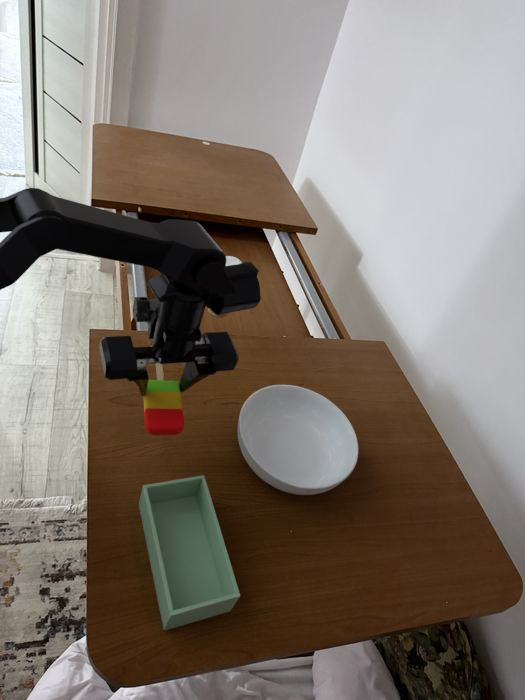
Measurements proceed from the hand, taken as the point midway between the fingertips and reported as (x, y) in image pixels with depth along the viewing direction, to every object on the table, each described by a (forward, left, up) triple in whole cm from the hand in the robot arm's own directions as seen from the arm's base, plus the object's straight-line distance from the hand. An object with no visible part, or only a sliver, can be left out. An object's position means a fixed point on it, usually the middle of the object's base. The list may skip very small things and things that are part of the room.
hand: (162, 391), depth 76 cm
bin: (0, -21, -10) cm, 24 cm away
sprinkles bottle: (+20, +29, -11) cm, 37 cm away
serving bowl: (+22, -8, -11) cm, 26 cm away
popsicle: (0, 0, -1) cm, 1 cm away
